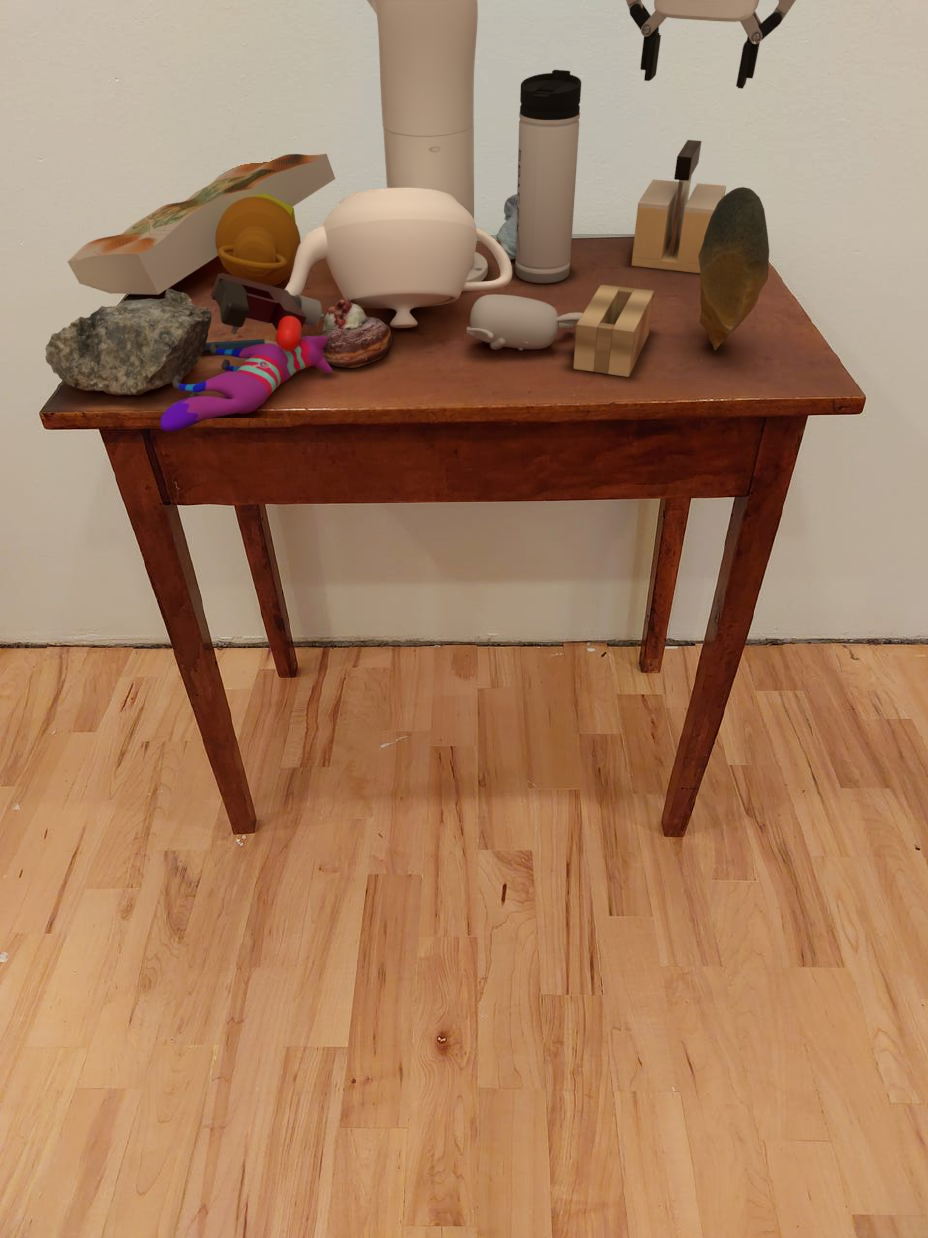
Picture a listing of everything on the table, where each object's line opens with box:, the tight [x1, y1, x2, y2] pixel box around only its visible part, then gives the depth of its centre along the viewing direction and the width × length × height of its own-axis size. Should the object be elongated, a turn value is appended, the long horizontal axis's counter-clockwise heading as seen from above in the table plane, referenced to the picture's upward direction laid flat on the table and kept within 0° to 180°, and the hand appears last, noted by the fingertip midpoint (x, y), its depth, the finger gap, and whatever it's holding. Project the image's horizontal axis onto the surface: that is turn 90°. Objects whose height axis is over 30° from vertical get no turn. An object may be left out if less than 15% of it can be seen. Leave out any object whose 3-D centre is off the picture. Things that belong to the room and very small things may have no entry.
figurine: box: [496, 193, 517, 261], centre depth 111 cm, size 8×12×7 cm, turn 171°
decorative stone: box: [698, 186, 770, 351], centre depth 85 cm, size 10×6×15 cm, turn 4°
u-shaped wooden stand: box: [631, 179, 727, 274], centre depth 107 cm, size 9×9×7 cm
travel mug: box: [514, 69, 582, 285], centre depth 99 cm, size 6×7×20 cm
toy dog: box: [159, 335, 333, 432], centre depth 83 cm, size 4×18×10 cm
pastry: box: [316, 296, 393, 369], centre depth 89 cm, size 8×8×5 cm
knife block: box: [572, 284, 655, 378], centre depth 89 cm, size 10×5×4 cm, turn 161°
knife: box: [669, 139, 702, 258], centre depth 105 cm, size 7×2×11 cm, turn 161°
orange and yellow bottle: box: [215, 194, 302, 287], centre depth 102 cm, size 9×9×25 cm
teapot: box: [284, 187, 513, 329], centre depth 92 cm, size 25×16×12 cm, turn 104°
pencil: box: [202, 338, 277, 354], centre depth 91 cm, size 1×1×15 cm
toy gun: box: [209, 272, 325, 351], centre depth 84 cm, size 10×12×5 cm
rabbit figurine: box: [465, 293, 584, 351], centre depth 90 cm, size 6×5×12 cm
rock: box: [44, 288, 213, 397], centre depth 85 cm, size 14×10×10 cm
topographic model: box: [67, 153, 336, 295], centre depth 108 cm, size 30×14×5 cm, turn 145°
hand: (694, 81), depth 97 cm, fingers open, 9 cm apart
